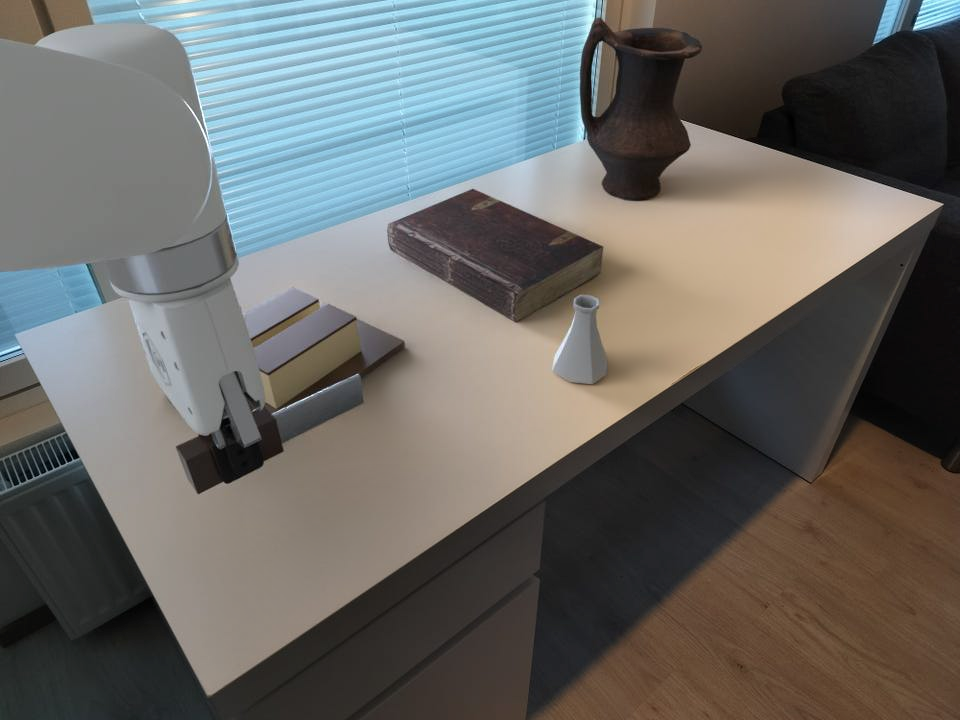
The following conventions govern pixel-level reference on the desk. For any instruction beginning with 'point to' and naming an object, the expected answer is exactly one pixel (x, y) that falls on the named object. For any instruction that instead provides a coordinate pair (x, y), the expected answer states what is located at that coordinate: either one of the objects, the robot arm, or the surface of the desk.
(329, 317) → the cake
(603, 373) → the flask
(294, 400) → the cake board
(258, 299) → the desk surface
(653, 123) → the jug
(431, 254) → the hardback book
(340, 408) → the knife
